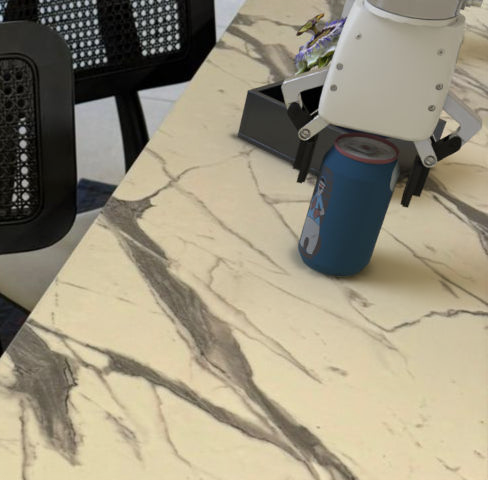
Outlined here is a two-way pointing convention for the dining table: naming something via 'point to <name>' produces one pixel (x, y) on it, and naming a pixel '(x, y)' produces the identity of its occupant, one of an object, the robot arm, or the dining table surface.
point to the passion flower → (318, 44)
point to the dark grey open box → (286, 135)
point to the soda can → (349, 204)
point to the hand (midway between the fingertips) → (353, 189)
